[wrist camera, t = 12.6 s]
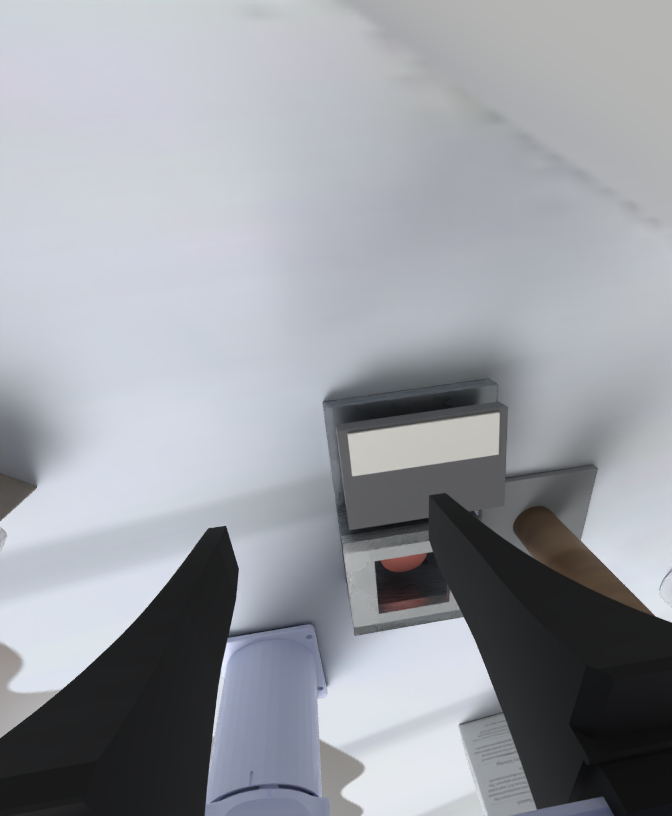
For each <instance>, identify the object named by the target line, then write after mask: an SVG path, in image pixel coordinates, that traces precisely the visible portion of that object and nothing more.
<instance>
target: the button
mask: <svg viewBox="0 0 672 816" xmlns="http://www.w3.org/2000/svg"><path fill="white" fill-rule="evenodd" d="M426 555H427V553H423V554H416V555H410V556H404V557H398V558H392V559H386V560H381V563H382V565H383V566H384V567H385V568H386V569H388V570H390V571H394V572H405V571H409V570H412V569H414V568H416V567H417V566H419V565H420V564H421V563H422V562H423V561H424V559H425V558H426Z"/></svg>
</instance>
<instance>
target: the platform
mask: <svg viewBox="0 0 672 816" xmlns="http://www.w3.org/2000/svg"><path fill="white" fill-rule="evenodd" d="M36 488H37V486H34V485H31V484H28V483H25V482H23V481H20V480H17V479H14V478H11V477H8V476H5V475H2V474H0V521H1V520H2V519H3V518H4V517H6V516H7V515H8V514H9V513H10V512H11V511H12V510H13V509H14V508H15V507H17V506H18V505H19V504H20V503H21V502H22V501H23V500H24V499H25V498H26V497H28V496H29V495H30V494H31V493H32V492H33V491H34V490H35V489H36ZM6 537H7V534H6V532H5V531H4V530H3V529H2V528H0V551H1V550H2V548H3V546H4V543H5V540H6Z"/></svg>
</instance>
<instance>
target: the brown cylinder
mask: <svg viewBox="0 0 672 816" xmlns="http://www.w3.org/2000/svg"><path fill="white" fill-rule="evenodd" d="M513 531H514V533H515V535H516V536H517V537H518V539H519V540H520V541H521V542H522V544H523V545H524V546H525V548H526V549H527V550H528V551H529V553H530V554H531V555H532V557H533V558H534V559H536V560H538V561H539V562H541V563H543V564H544V565H546V566H548V567H549V568H551V569H553V570H555V571H557V572H558V573H560V574H562V575H564V576H566V577H568V578H570V579H572V580H574V581H576V582H578V583H580V584H582V585H583V586H585V587H587V588H590V589H592V590H594V591H596V592H598V593H600V594H602V595H604V596H607V597H609V598H611V599H614V600H616V601H618V602H620V603H623V604H625V605H627V606H630V607H632V608H634V609H637V610H639V611H642V612H645V613H647V614H650V615H652V616H654V614H653V613H652V612H651V611H650V610H649V609H648V608H647V607H646V606H645V605H644V604H643V603H642V602H641V601H640V600H639V599H638V598H637V597H636V596H635V595H634V594H633V593H632V592H631V591H630V590H629V589H628V588H627V587H626V586H625V585H624V584H623V583H622V582H621V581H620V580H619V579H618V578H617V577H616V576H615V575H614V574H613V573H612V572H611V571H610V570H609V569H608V568H607V567H606V566H605V565H604V564H603V563H602V562H601V561H600V560H599V559H598V558H597V557H596V556H595V555H594V554H593V553H592V552H591V551H590V550H589V549H588V548H587V547H586V546H585V545H584V544H583V543H582V542H581V541H580V540H579V539H578V538H577V537H576V536H575V535H574V534H573V533H572V532H571V531H570V530H569V529H568V528H567V527H566V526H565V525H564V524H563V523H562V522H561V521H560V520H559V518H558V517H557V516H556V515H555V514H554V513H553V512H552V511H551V510H550V509H548V508H546V507H543V506H536V507H531V508H529V509H527V510H525V511H523V512H522V513H521V514H519V516H518V517H517V518H516V519H515V521H514V524H513Z"/></svg>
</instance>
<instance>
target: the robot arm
mask: <svg viewBox="0 0 672 816" xmlns="http://www.w3.org/2000/svg"><path fill="white" fill-rule="evenodd" d="M429 541H430V544H431V547H432V550H433V553H434V556H435V558H436V561H437V564H438V566H439V568H440V570H441V572H442V574H443V576H444V578H445V580H446V582H447V585H448V587H449V589H450V590H451V592H452V594H453V596H454V598H455V600H456V602H457V604H458V606H459V608H460V610H461V612H462V614H463V616H464V618H465V620H466V622H467V624H468V626H469V628H470V630H471V633H472V635H473V637H474V639H475V641H476V644H477V646H478V649H479V651H480V654H481V656H482V659H483V661H484V664H485V666H486V669H487V671H488V674H489V677H490V679H491V682H492V685H493V687H494V690H495V692H496V695H497V698H498V700H499V703H500V706H501V708H502V711H503V714H504V717H505V719H506V722H507V725H508V728H509V730H510V733H511V736H512V739H513V741H514V744H515V747H516V750H517V753H518V755H519V758H520V761H521V764H522V767H523V770H524V773H525V776H526V779H527V782H528V785H529V788H530V791H531V794H532V796H533V799H534V802H535V806H536V809H537V810H534V811H529V812H524V813H519V814H514V815H509V816H672V623H671V622H668V621H666V620H663V619H660V618H658V617H655V616H652V615H650V614H647V613H645V612H642V611H639V610H637V609H634V608H632V607H630V606H627V605H625V604H623V603H620V602H618V601H616V600H614V599H611V598H609V597H607V596H604V595H602V594H600V593H598V592H596V591H594V590H592V589H590V588H587V587H585V586H583V585H582V584H580V583H578V582H576V581H574V580H572V579H570V578H568V577H566V576H564V575H562V574H560V573H558V572H557V571H555V570H553V569H551V568H549V567H548V566H546V565H544V564H543V563H541V562H539V561H538V560H536V559H534V558H533V557H531V556H529V555H528V554H526V553H525V552H523V551H521V550H520V549H518V548H517V547H515V546H514V545H513V544H511V543H510V542H508V541H507V540H505V539H504V538H502V537H501V536H500V535H498V534H497V533H496V532H494V531H493V530H492V529H490V528H489V527H488V526H486V525H485V524H484V523H482V522H481V521H480V520H479V519H477V518H476V517H475V516H473V515H472V514H471V513H470V512H469V511H467V510H466V509H465V508H464V507H462V506H461V505H460V504H459V503H458V502H456V501H455V500H454V499H453V498H451V497H450V496H449V495H448V494H446V493H441V494H435V495H429ZM238 571H239V568H238V565H237V561H236V558H235V555H234V551H233V548H232V544H231V541H230V538H229V534H228V531H227V527H226V526H222V527H215V528H208V530H207V531H206V532H205V533H204V535H203V536H202V537H201V539H200V540H199V542H198V543H197V544H196V546H195V547H194V548H193V550H192V551H191V553H190V554H189V555H188V557H187V558H186V559H185V561H184V562H183V563H182V565H181V566H180V567H179V569H178V570H177V571H176V573H175V574H174V575H173V576H172V578H171V579H170V580H169V582H168V583H167V584H166V585H165V587H164V588H163V589H162V590H161V591H160V593H159V594H158V595H157V596H156V597H155V599H154V600H153V601H152V602H151V603H150V605H149V606H148V607H147V608H146V609H145V610H144V611H143V613H142V614H141V615H140V616H139V617H138V618H137V619H136V620H135V621H134V622H133V624H132V625H131V626H130V627H129V628H128V629H127V630H126V631H125V632H124V633H123V634H122V635H121V636H120V637H119V638H118V639H117V640H116V641H115V642H114V643H113V644H112V645H111V646H110V647H109V648H108V649H106V650H105V651H104V652H103V653H102V654H101V655H100V656H99V657H98V658H97V659H96V660H95V661H94V662H93V663H92V664H90V665H89V666H88V667H87V668H86V669H85V670H84V671H83V672H82V673H81V674H80V675H78V676H77V677H76V678H75V679H74V680H73V681H71V682H70V683H69V684H68V685H67V686H66V687H65V688H63V689H62V690H61V691H60V692H59V693H57V694H56V695H55V696H54V697H53V698H51V699H50V700H49V701H48V702H47V703H45V704H44V705H43V706H42V707H40V708H39V709H38V710H37V711H35V712H34V713H33V714H32V715H30V716H29V717H28V718H26V719H25V720H24V721H22V722H21V723H20V724H18V725H17V726H16V727H15V728H13V729H12V730H11V731H9V732H8V733H7V734H5V735H4V736H3V737H1V738H0V816H330V807H329V798H328V797H322V790H321V768H320V749H319V748H320V747H319V726H318V704H317V699H320V698H324V697H326V696H327V688H326V683H325V678H324V673H323V668H322V663H321V658H320V653H319V648H318V643H317V638H316V633H315V628H314V626H313V625H310V624H307V625H301V626H295V627H289V628H283V629H278V630H272V631H266V632H260V633H254V634H248V635H242V636H236V637H231V638H228V635H229V630H230V626H231V621H232V616H233V611H234V606H235V601H236V593H237V583H238ZM220 673H222V676H223V678H224V684H223V690H222V696H221V702H220V708H219V714H218V720H217V726H216V732H215V738H214V745H213V750H212V756H211V762H210V768H209V761H210V753H211V743H212V734H213V725H214V716H215V708H216V700H217V692H218V685H219V679H220Z"/></svg>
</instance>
